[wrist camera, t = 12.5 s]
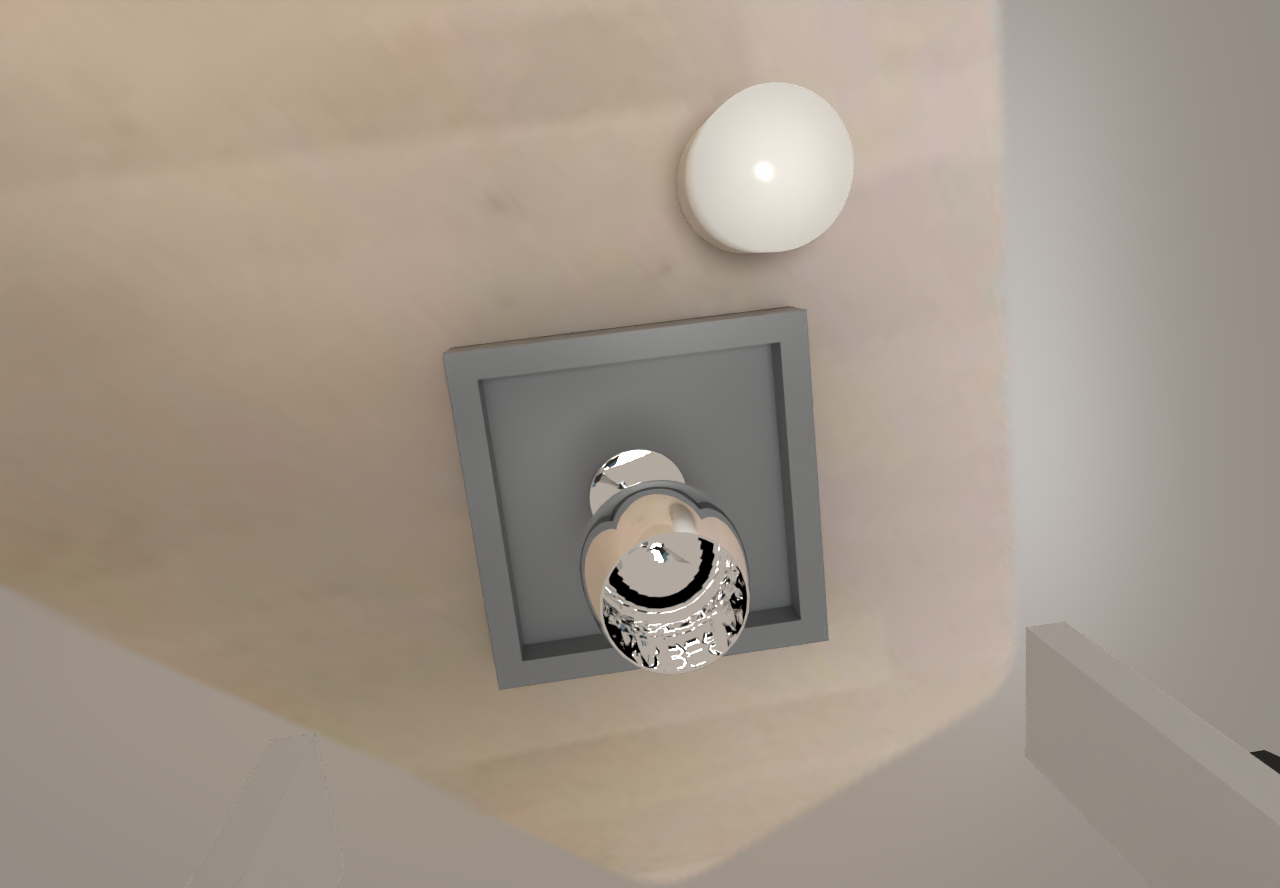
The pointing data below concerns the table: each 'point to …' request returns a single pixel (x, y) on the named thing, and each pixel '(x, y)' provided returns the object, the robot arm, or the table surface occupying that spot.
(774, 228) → the white pillar candle
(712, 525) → the wineglass
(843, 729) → the table surface
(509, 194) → the table surface
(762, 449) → the tray
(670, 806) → the table surface
